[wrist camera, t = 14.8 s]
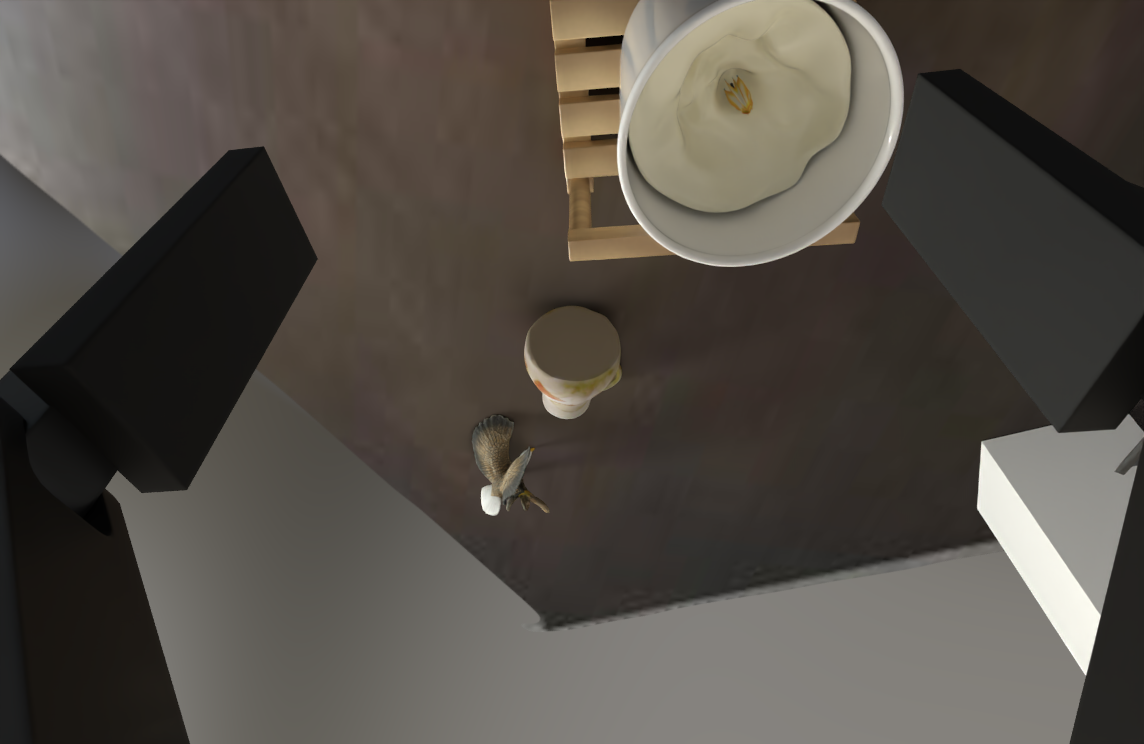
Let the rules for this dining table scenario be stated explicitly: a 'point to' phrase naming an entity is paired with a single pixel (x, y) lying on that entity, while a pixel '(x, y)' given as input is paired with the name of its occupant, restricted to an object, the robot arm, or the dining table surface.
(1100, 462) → the milk
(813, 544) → the dining table surface
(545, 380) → the mug
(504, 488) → the eagle figurine
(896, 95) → the candle holder
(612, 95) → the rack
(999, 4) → the dining table surface
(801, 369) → the dining table surface
